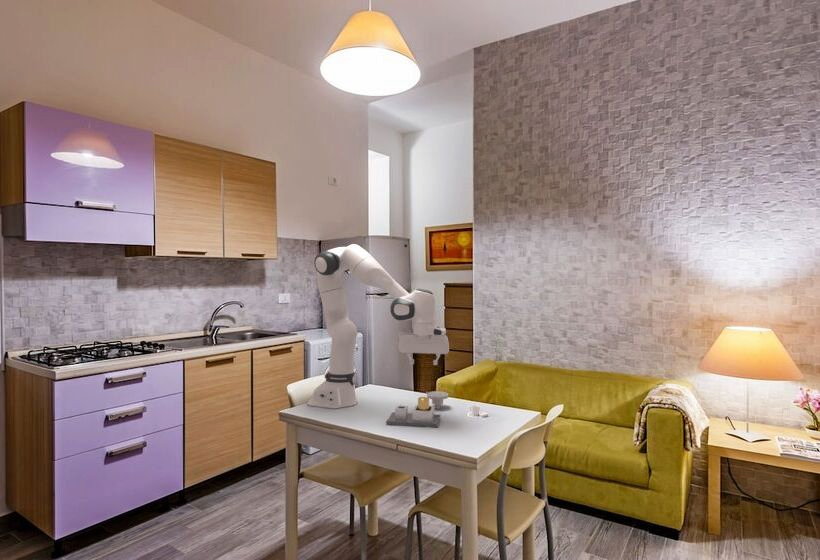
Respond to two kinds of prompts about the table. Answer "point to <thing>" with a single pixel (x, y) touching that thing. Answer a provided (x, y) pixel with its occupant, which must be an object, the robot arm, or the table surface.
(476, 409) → the teacup and saucer
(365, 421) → the table surface
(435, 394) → the showerhead
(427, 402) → the cylinder
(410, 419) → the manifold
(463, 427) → the table surface
